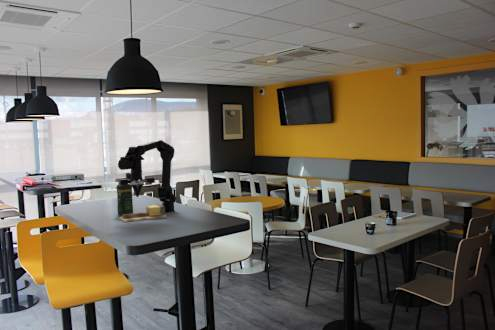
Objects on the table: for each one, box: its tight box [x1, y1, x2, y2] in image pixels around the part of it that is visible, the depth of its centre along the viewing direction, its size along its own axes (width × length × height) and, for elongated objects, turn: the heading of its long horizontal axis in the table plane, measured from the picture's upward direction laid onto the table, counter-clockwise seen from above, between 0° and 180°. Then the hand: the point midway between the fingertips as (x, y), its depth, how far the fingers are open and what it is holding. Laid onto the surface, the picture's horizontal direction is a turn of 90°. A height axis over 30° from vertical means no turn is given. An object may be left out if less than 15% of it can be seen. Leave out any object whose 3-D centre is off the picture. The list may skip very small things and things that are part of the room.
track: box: [119, 203, 167, 223], centre depth 221 cm, size 23×12×6 cm, turn 119°
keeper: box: [145, 204, 161, 216], centre depth 224 cm, size 6×8×4 cm
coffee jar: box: [116, 183, 134, 216], centre depth 235 cm, size 10×8×19 cm
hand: (137, 196), depth 219 cm, fingers closed
